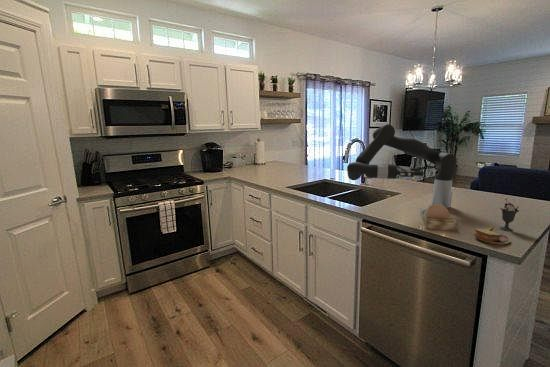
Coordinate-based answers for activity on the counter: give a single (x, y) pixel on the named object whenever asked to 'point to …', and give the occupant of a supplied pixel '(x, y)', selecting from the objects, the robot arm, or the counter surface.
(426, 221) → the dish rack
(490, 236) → the toy sandwich meal
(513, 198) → the counter surface
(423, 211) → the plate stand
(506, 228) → the sundae
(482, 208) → the counter surface
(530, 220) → the counter surface
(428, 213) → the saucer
